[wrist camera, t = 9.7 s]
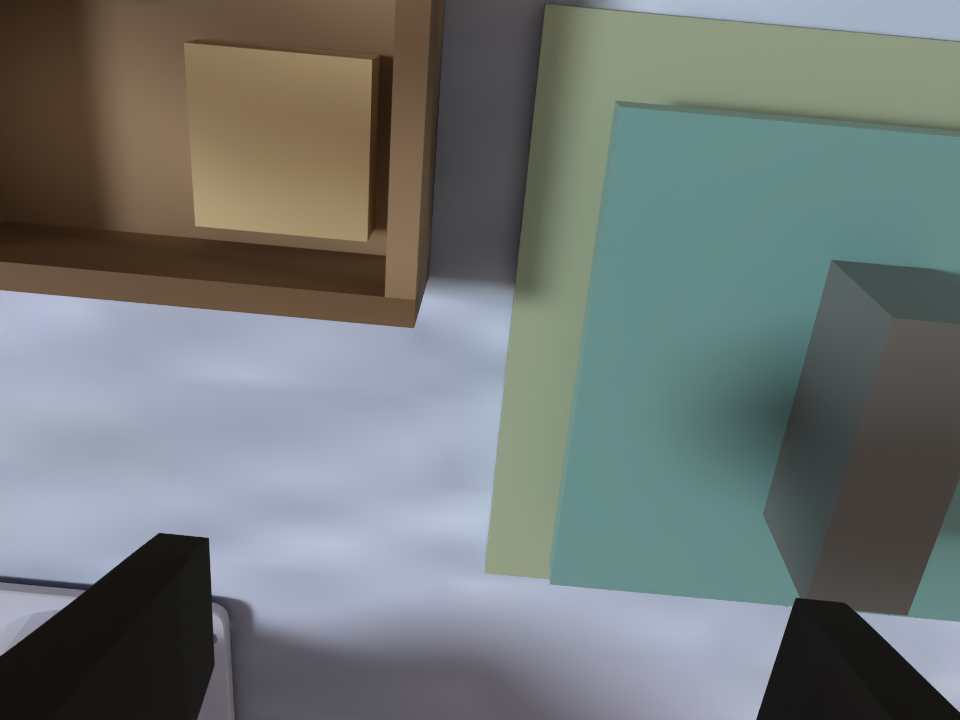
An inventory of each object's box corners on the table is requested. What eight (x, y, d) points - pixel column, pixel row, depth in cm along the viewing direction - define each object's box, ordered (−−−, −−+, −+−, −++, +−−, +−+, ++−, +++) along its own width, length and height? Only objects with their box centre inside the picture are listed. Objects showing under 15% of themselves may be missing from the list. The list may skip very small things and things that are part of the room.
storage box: (428, 277, 19) (413, 328, 17) (-4, 238, 19) (-88, 281, 17) (459, -247, 15) (447, -294, 12) (-93, -297, 15) (-226, -354, 13)
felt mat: (1001, 611, 23) (1009, 621, 22) (485, 563, 23) (485, 573, 22) (1243, 67, 17) (1259, 69, 17) (545, 3, 17) (545, 4, 17)
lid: (971, 571, 22) (1091, 730, 17) (547, 533, 22) (555, 681, 17) (1149, 140, 17) (1374, 202, 13) (608, 92, 17) (641, 137, 13)
